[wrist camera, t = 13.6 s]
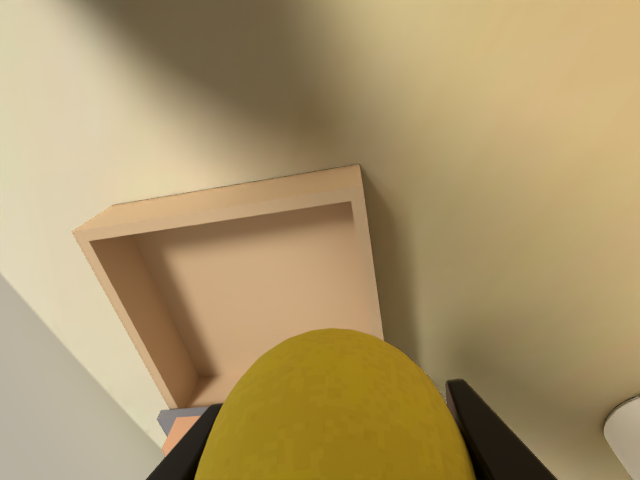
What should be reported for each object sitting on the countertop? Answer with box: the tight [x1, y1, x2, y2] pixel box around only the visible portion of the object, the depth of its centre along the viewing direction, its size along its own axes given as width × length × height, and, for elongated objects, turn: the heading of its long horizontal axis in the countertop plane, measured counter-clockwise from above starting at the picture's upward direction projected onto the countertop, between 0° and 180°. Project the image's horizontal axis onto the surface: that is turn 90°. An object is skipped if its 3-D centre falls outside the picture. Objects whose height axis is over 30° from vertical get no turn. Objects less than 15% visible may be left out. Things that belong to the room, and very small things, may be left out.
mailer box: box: [72, 164, 384, 410], centre depth 21 cm, size 14×14×4 cm
